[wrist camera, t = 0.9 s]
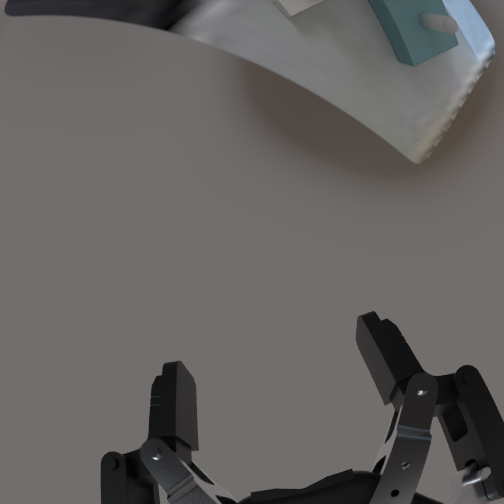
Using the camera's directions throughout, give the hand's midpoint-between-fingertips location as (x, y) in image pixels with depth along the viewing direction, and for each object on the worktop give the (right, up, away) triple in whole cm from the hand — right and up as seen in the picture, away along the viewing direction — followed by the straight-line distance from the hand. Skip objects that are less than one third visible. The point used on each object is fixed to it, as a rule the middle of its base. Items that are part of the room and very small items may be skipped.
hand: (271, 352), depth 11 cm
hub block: (+19, +33, +8) cm, 39 cm away
